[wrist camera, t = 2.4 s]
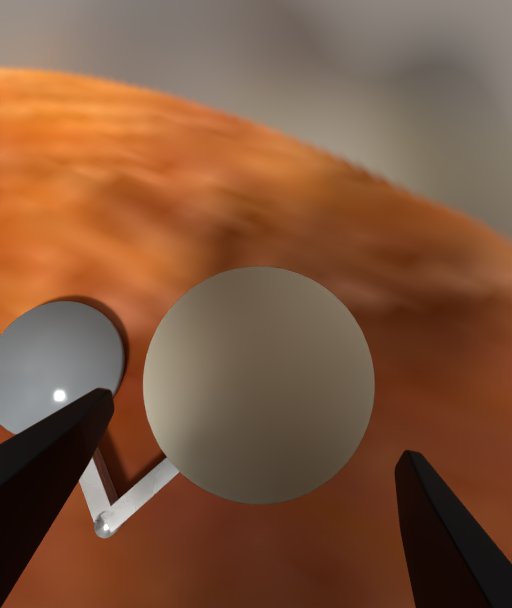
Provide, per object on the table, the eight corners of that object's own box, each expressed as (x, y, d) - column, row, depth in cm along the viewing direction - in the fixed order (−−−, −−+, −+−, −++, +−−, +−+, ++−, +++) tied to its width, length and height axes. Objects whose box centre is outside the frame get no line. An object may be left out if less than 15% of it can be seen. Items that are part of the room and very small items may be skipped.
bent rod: (108, 534, 17) (99, 543, 16) (75, 444, 18) (65, 447, 17) (227, 462, 17) (225, 466, 16) (188, 381, 19) (184, 380, 18)
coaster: (14, 466, 17) (7, 468, 17) (-25, 341, 19) (-32, 340, 19) (145, 393, 18) (142, 393, 18) (96, 281, 20) (92, 279, 20)
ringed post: (243, 450, 18) (198, 589, 5) (202, 371, 19) (89, 324, 6) (319, 404, 18) (446, 426, 6) (275, 330, 19) (301, 215, 7)
